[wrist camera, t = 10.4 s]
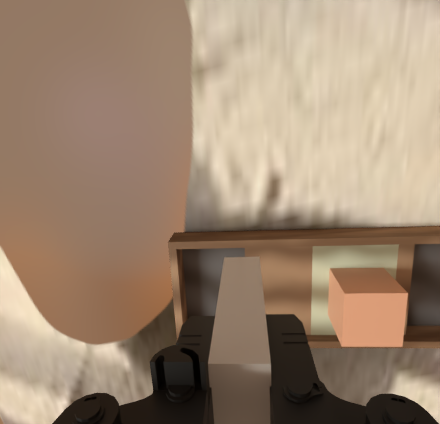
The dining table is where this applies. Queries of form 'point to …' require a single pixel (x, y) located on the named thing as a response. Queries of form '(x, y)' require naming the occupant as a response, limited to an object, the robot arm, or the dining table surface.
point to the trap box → (312, 273)
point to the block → (366, 307)
